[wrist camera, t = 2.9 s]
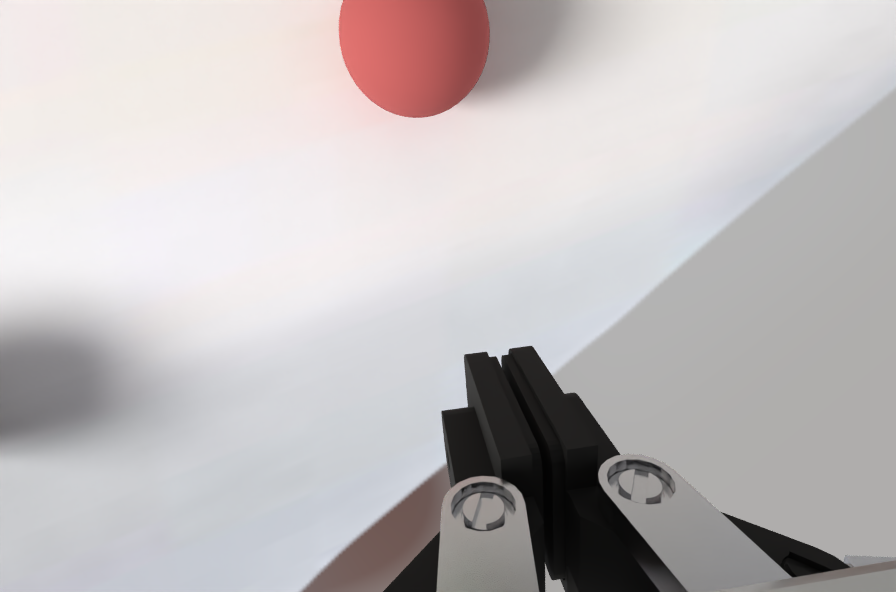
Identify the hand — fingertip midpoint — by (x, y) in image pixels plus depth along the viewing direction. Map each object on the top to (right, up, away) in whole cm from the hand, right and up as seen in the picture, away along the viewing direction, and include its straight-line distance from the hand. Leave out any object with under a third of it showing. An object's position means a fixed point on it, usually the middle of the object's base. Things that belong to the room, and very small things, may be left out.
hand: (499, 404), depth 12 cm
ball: (-3, +13, +7) cm, 15 cm away
